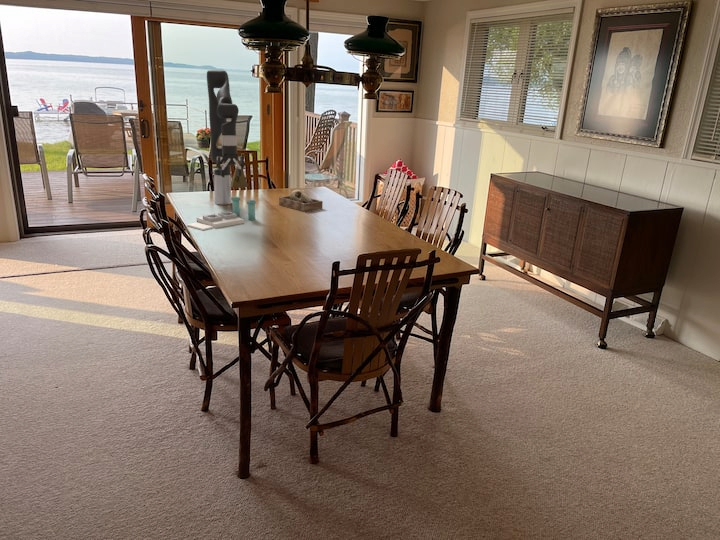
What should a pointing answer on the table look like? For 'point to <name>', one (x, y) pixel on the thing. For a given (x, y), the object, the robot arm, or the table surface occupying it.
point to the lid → (199, 226)
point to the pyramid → (239, 180)
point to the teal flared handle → (236, 205)
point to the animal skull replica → (300, 196)
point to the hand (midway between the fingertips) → (231, 177)
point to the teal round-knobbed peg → (251, 209)
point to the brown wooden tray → (300, 204)
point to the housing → (220, 219)
